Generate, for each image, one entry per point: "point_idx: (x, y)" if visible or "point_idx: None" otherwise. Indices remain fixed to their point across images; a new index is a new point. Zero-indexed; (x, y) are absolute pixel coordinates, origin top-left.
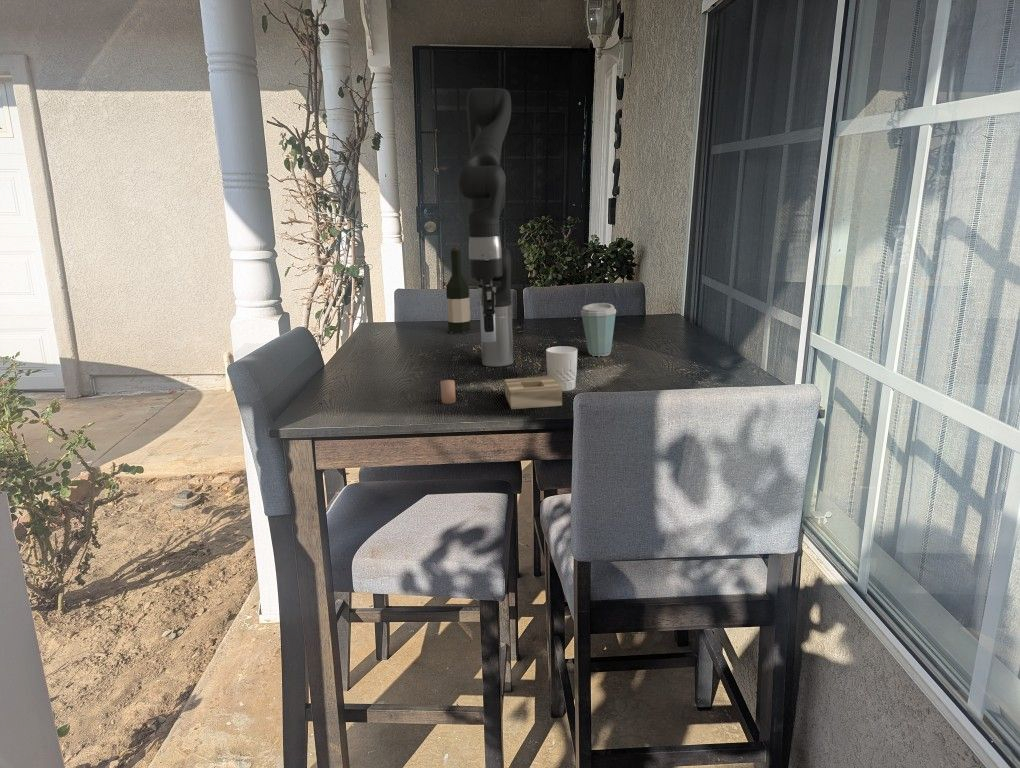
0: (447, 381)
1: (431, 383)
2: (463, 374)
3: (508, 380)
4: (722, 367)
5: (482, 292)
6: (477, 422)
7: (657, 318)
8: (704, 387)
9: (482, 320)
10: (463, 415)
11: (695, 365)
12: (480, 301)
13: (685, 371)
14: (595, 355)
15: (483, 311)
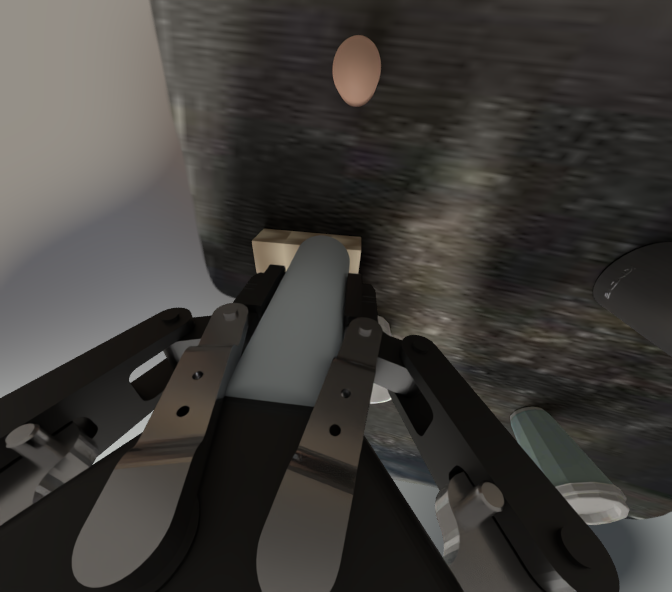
0: (358, 70)
1: (600, 31)
2: (614, 171)
3: (349, 257)
4: (380, 459)
5: (201, 474)
6: (181, 142)
7: (655, 505)
8: None
9: (283, 285)
10: (230, 113)
11: (400, 451)
12: (211, 369)
13: (381, 440)
14: (520, 410)
15: (162, 319)
